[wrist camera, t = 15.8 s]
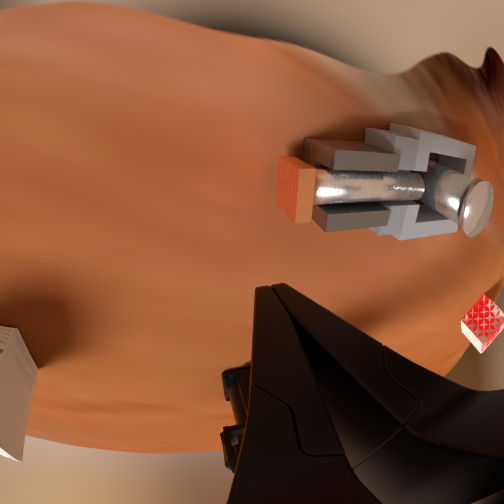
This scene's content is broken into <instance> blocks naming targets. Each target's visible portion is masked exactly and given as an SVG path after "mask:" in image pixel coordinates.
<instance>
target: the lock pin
mask: <svg viewBox="0 0 504 504" xmlns="http://www.w3.org/2000/svg"><path fill="white" fill-rule="evenodd" d="M424 190H425V185H424V181H423V178H422V177H421V175H420V174H418V173H416V172H403V171H398V172H387V171H360V170H332V169H316V168H314V167H312V166H311V165H309V164H307V163H305V162H303V161H301V160H300V159H298V158H296V157H294V156H279V157H278V184H277V204H278V205H279V207H280V208H281V209H282V210H283V211H284V212H285V213H286V214H287V215H288V217H289V218H290V219H291V220H292V221H293V222H294V223H295V224H298V223H309V222H311V217H312V207H313V205H316V204H332V203H350V202H372V201H401V200H419V199H420V198H421V197H422V196H423V194H424Z"/></svg>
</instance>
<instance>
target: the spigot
mask: <svg viewBox="0 0 504 504" xmlns="http://www.w3.org/2000/svg"><path fill="white" fill-rule="evenodd" d="M409 172H416V173H418V174H420V175H421V177H422V178H423V181H424V185H425V190H424V194H423V196H422V197H421V198H420V199H419V201H421V202H423V203H424V204H426V205H428V206H429V207H431V208H433V209H434V210H436V211H438V212H439V213H441V214H442V215H444V216H446V217H447V218H449V219H450V220H452V221H453V222H455V223H456V224H458V226H459V229H460V230H461V231H462V232H463V233H465V234H466V235H468V236H469V237H474V236H476V235H478V234H479V233H480V232H481V231H482V229H483V228H484V227H485V225H486V223H487V221H488V219H489V217H490V214H491V211H492V207H493V202H494V191H493V187H492V185H491V184H490V183H489V182H487V181H485V180H483V179H480V178H478V179H473V178H470V177H468V176H466V175H464V174H462V173H460V172H458V171H455V170H453V169H451V168H449V167H446V166H444V165H442V164H439V163H437V162H435V161H432V160H430V159H429V160H428V166H427V172H424V171H412V170H410V171H409Z"/></svg>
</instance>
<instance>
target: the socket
mask: <svg viewBox="0 0 504 504" xmlns="http://www.w3.org/2000/svg"><path fill="white" fill-rule="evenodd" d="M364 142H366V143H369V144H372V145H375V146H378V147H380V148H383V149H386V150H389V151H391V152H394V153H397V154H399V155H400V162H399V168H398V171H403V172H409V171H410V170H412V171H424V172H427V166H428V160H429V154H430V152H432V153H437V154H439V160H438V163H439V164H442V165H444V166H446V167H449V168H451V169H453V170H455V171H458V172H460V173H462V174H464V175H466V176H468V177H470V178H471V173H472V168H473V163H474V157H475V151H476V146H474V145H471V144H469V143H466V142H463V141H460V140H458V139H455V138H452V137H449V136H445V135H442V134H438V133H434V132H430V131H426V130H422V129H418V128H414V127H409V126H404V125H400V124H395V123H390V127H389V131H388V130H382V129H375V128H368V127H366V130H365V141H364ZM377 202H379V203H380V204H382V205H383V206H385V207H386V208H388V209H390V210H391V211H390V216H389V220H388V225H387V226H379V227H370V228H369V229H370V230H372V231H373V232H374V233H375V234H377V235H378V236H382V235H389V234H391V235H392V236H394V237H395V238H396V239H397V240H399V241H400V240H407V239H413V238H420V237H426V236H433V235H439V234H446V233H452V232H456V231H457V228H458V224H456V223H455V222H453V221H452V220H450V219H449V218H447V217H446V216H444V215H442V214H441V213H439V212H438V211H436V210H434V209H433V208H431V207H429V206H428V205H419V204H417V203H416V202H414V201H412V200H401V201H377Z"/></svg>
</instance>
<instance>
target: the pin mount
mask: <svg viewBox="0 0 504 504" xmlns="http://www.w3.org/2000/svg"><path fill="white" fill-rule="evenodd" d="M303 162H305V163H307V164H309V165H311V166H312V167H314V168H316V169H332V170H360V171H387V172H398V168H399V162H400V155H399V154H397V153H394V152H391V151H389V150H386V149H383V148H380V147H378V146H375V145H372V144H369V143H366V142H359V141H348V140H333V139H313V138H304V152H303ZM390 211H391V210H390V209H388V208H386V207H385V206H383V205H382V204H380V203H379V202H377V201H372V202H350V203H332V204H316V205H313V207H312V217H311V218H312V219H313V220H314V221H315V222H316V223H317V224H318V225H319V226H320V227H321V228H322V229H323V230H324V231H325V232H333V231H342V230H351V229H360V228H370V227H379V226H387V225H388V220H389V216H390Z"/></svg>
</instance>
